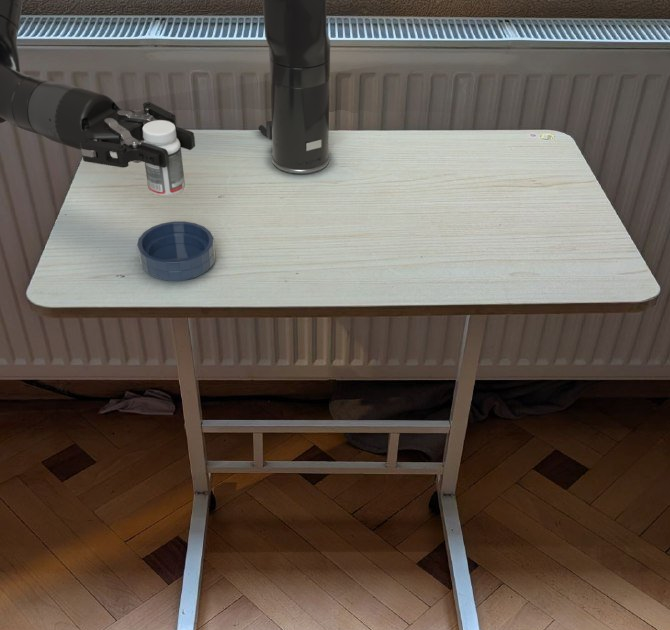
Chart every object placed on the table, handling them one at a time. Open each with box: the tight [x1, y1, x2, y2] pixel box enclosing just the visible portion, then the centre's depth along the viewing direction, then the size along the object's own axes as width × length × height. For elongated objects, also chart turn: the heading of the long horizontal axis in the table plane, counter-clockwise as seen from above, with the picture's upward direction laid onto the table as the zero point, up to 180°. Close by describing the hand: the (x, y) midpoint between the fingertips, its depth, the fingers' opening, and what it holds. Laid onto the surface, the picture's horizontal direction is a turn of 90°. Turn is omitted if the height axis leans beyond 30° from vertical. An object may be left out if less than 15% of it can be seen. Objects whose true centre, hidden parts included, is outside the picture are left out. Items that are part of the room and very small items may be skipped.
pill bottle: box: [143, 120, 186, 197], centre depth 105 cm, size 5×5×8 cm
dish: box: [137, 220, 216, 282], centre depth 115 cm, size 10×10×4 cm
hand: (179, 150), depth 103 cm, fingers closed on pill bottle, 4 cm apart
